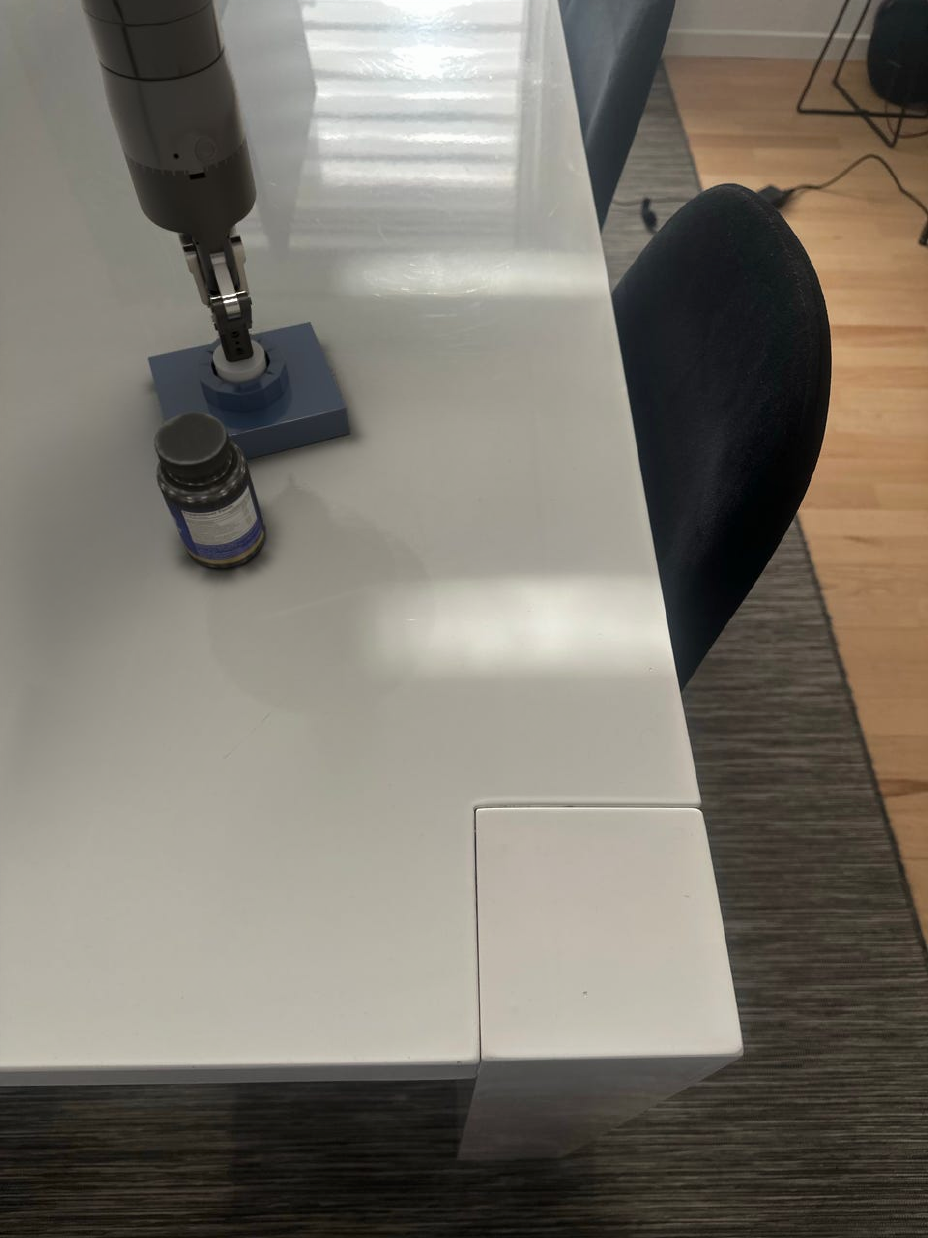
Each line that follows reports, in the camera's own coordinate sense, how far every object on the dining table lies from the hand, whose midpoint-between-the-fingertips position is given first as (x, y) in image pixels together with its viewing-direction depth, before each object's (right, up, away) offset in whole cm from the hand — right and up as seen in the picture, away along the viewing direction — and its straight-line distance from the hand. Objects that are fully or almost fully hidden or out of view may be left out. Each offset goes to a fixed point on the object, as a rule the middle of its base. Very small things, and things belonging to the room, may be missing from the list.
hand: (239, 354), depth 66 cm
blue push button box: (0, -3, +5) cm, 6 cm away
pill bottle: (0, -15, -2) cm, 15 cm away
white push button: (0, -1, +2) cm, 2 cm away
